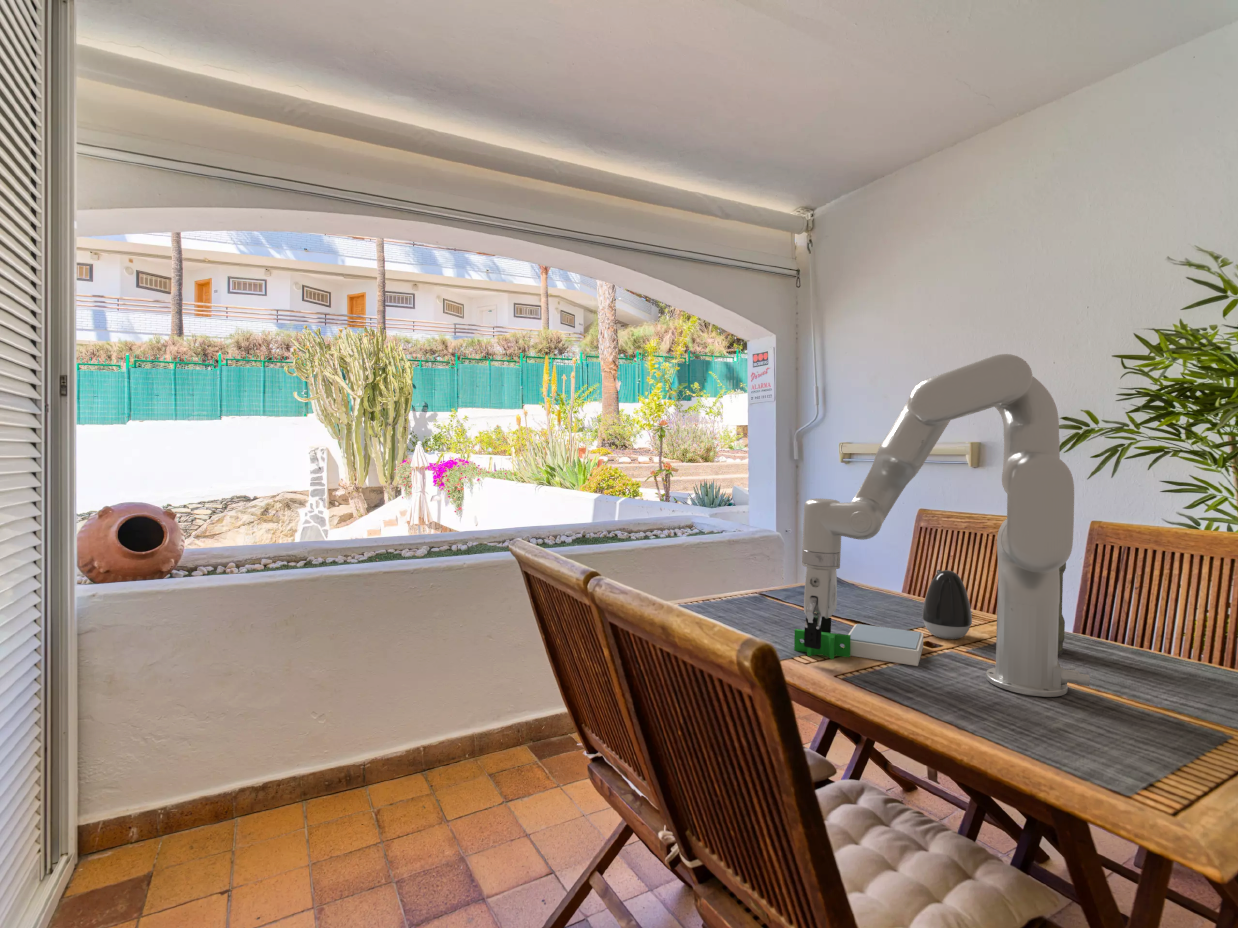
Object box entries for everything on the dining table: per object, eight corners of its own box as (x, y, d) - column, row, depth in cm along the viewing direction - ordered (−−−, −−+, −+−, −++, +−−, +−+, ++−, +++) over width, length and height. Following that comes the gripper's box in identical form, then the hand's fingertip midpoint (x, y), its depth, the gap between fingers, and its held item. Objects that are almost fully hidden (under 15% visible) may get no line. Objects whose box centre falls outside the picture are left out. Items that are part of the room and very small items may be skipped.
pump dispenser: (959, 630, 153) (961, 566, 152) (979, 643, 142) (981, 575, 142) (914, 628, 154) (916, 565, 153) (931, 641, 143) (933, 574, 143)
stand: (923, 647, 140) (923, 631, 139) (917, 666, 127) (918, 649, 127) (855, 637, 146) (855, 622, 146) (844, 654, 134) (844, 638, 134)
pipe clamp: (792, 655, 134) (792, 633, 134) (794, 650, 138) (795, 628, 138) (849, 662, 130) (849, 639, 130) (850, 656, 133) (850, 634, 133)
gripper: (831, 568, 123) (827, 656, 123) (847, 555, 138) (844, 634, 139) (792, 563, 126) (788, 649, 127) (811, 551, 142) (808, 628, 142)
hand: (817, 641), depth 133 cm, fingers open, 9 cm apart
